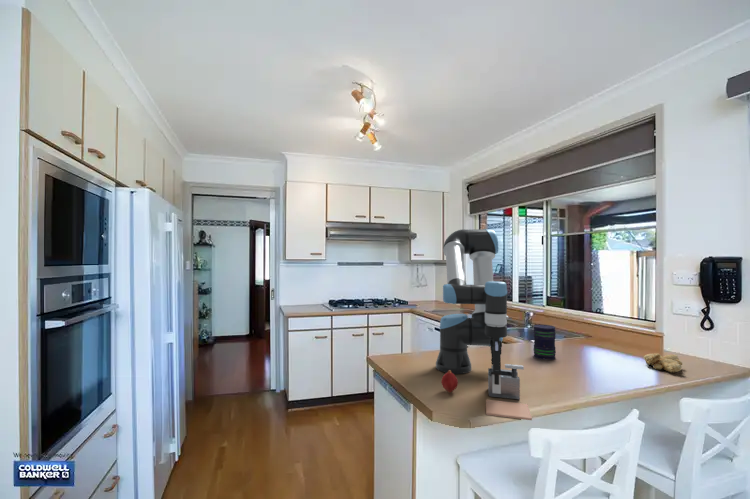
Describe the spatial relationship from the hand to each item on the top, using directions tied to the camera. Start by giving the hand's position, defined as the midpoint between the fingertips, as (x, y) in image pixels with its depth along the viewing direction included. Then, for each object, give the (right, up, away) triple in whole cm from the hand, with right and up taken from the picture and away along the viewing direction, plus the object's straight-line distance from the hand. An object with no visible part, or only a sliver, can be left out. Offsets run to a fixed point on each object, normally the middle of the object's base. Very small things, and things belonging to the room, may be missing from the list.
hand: (495, 388), depth 130 cm
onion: (-16, -2, 0) cm, 17 cm away
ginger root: (+84, -3, +31) cm, 89 cm away
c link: (+2, -1, -1) cm, 3 cm away
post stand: (+6, -2, -2) cm, 6 cm away
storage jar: (+40, -3, +48) cm, 63 cm away
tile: (-1, -1, -15) cm, 15 cm away
